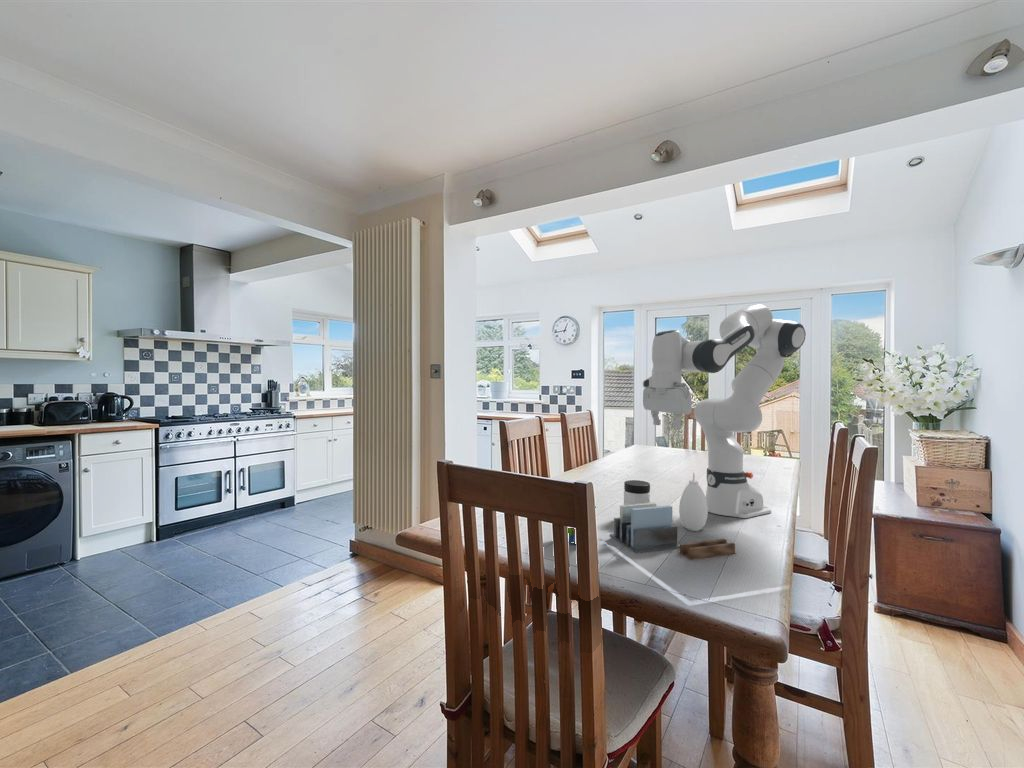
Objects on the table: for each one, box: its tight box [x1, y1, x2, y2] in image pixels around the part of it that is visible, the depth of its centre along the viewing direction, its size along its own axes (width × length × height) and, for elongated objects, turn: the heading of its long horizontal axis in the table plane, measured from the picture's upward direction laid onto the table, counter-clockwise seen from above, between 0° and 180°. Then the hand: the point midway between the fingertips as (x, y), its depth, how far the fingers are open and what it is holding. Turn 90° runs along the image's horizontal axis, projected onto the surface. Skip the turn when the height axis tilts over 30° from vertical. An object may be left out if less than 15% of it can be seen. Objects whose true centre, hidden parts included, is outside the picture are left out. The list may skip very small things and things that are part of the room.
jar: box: [623, 479, 651, 505], centre depth 151 cm, size 9×8×12 cm
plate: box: [631, 504, 673, 547], centre depth 126 cm, size 12×1×10 cm, turn 107°
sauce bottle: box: [678, 472, 709, 532], centre depth 139 cm, size 8×8×18 cm
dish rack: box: [609, 502, 680, 554], centre depth 129 cm, size 14×14×10 cm
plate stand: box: [678, 538, 737, 561], centre depth 121 cm, size 14×5×3 cm, turn 107°
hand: (665, 426), depth 144 cm, fingers open, 8 cm apart
